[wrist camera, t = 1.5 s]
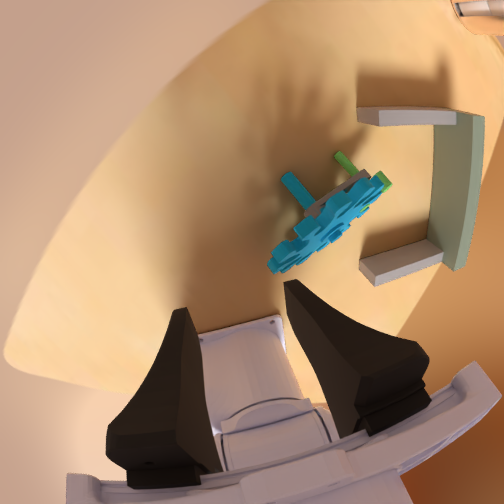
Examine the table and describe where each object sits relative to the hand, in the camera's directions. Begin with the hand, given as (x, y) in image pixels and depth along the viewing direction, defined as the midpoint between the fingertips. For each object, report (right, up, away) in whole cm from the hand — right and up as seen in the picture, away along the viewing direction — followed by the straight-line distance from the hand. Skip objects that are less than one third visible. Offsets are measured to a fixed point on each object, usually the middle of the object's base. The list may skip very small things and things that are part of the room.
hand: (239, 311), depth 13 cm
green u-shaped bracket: (+14, +9, +11) cm, 20 cm away
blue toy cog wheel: (+5, +7, +10) cm, 13 cm away
